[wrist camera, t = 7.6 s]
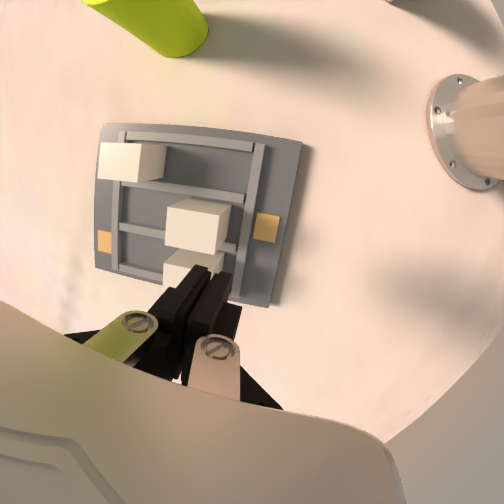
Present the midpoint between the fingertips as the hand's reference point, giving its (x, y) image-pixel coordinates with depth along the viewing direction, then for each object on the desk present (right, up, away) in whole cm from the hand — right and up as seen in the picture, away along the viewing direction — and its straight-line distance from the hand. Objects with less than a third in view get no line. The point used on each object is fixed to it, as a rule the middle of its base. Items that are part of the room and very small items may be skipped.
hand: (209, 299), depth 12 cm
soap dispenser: (-5, +24, +9) cm, 26 cm away
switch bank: (-5, +6, +14) cm, 16 cm away
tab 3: (-3, +1, +14) cm, 15 cm away
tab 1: (-8, +11, +12) cm, 18 cm away
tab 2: (-2, +5, +13) cm, 14 cm away
